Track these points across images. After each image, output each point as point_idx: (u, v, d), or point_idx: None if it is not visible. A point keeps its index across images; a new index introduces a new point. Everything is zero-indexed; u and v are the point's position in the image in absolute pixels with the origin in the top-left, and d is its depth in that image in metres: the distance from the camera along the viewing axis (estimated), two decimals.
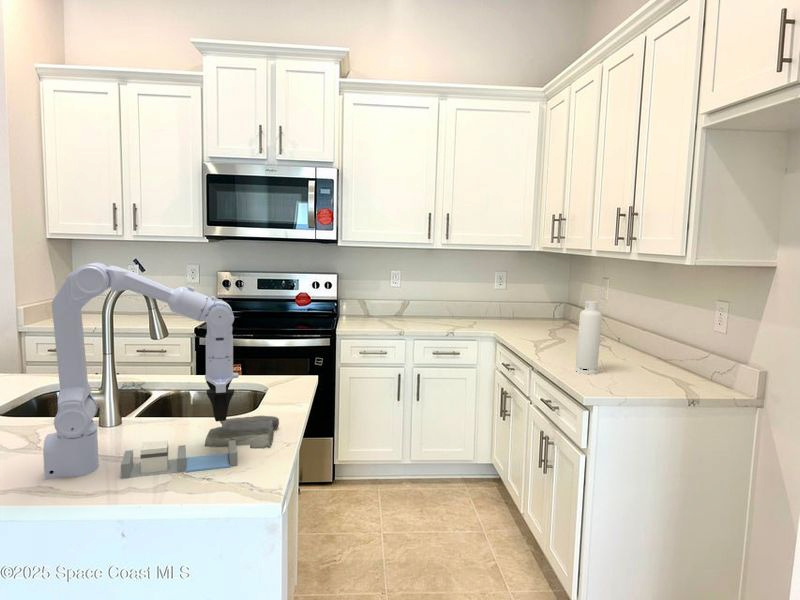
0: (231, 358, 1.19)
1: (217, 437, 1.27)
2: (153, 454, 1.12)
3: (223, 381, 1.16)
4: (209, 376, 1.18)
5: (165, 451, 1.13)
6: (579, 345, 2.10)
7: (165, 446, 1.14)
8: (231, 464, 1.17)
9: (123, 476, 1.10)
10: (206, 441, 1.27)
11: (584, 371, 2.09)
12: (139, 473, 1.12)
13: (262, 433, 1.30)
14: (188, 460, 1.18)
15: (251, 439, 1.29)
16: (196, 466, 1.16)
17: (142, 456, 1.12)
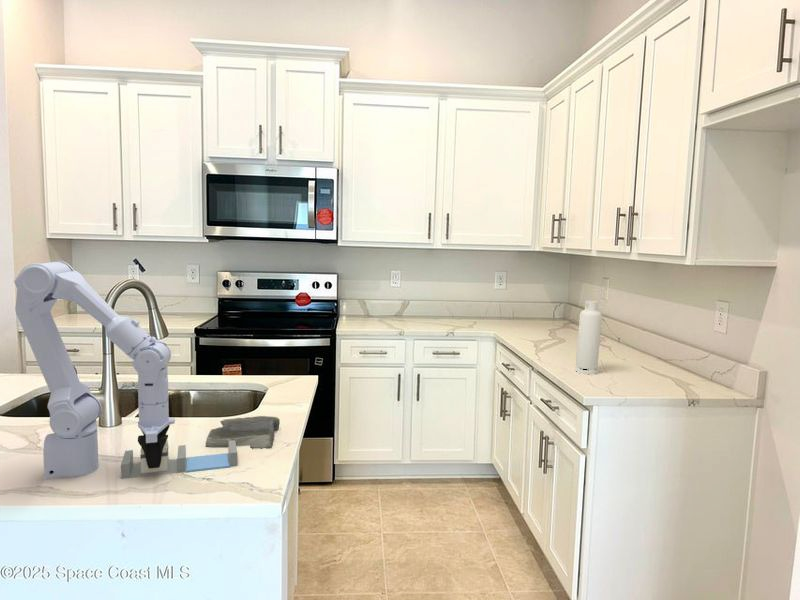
0: (166, 404, 1.13)
1: (218, 437, 1.27)
2: None
3: (155, 429, 1.09)
4: (141, 423, 1.11)
5: (165, 451, 1.13)
6: (579, 345, 2.10)
7: (165, 446, 1.14)
8: (231, 464, 1.17)
9: (123, 476, 1.10)
10: (207, 441, 1.26)
11: (584, 371, 2.09)
12: (139, 473, 1.12)
13: (263, 434, 1.30)
14: (188, 460, 1.18)
15: (252, 439, 1.29)
16: (196, 466, 1.16)
17: (142, 456, 1.12)
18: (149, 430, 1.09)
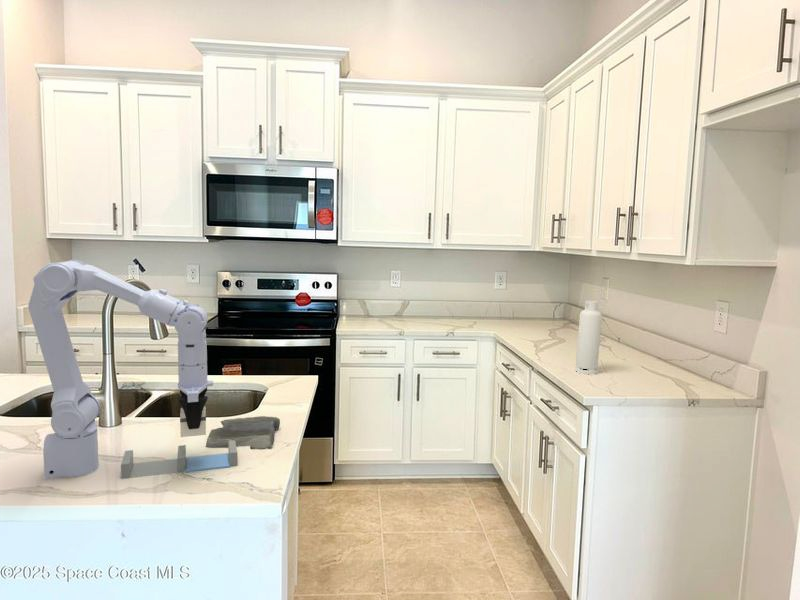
0: (205, 365, 1.14)
1: (218, 437, 1.27)
2: None
3: (196, 390, 1.11)
4: (181, 385, 1.13)
5: (204, 416, 1.15)
6: (579, 345, 2.10)
7: (204, 411, 1.15)
8: (231, 464, 1.17)
9: (123, 476, 1.10)
10: (207, 442, 1.26)
11: (584, 371, 2.09)
12: (139, 473, 1.12)
13: (264, 434, 1.30)
14: (188, 460, 1.18)
15: (252, 440, 1.28)
16: (196, 466, 1.16)
17: (182, 420, 1.14)
18: (190, 390, 1.11)
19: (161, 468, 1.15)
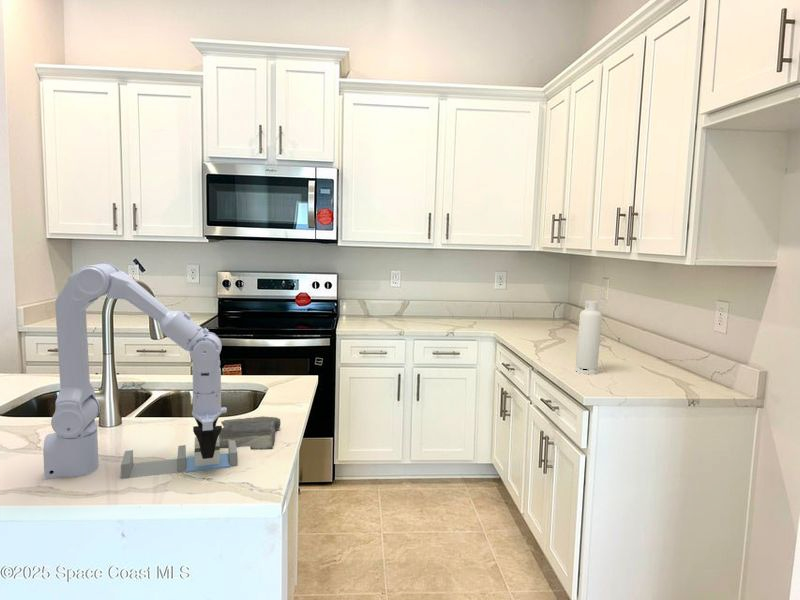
0: (219, 393, 1.16)
1: (219, 438, 1.27)
2: None
3: (210, 418, 1.13)
4: (196, 412, 1.15)
5: (218, 445, 1.17)
6: (579, 345, 2.10)
7: (217, 440, 1.17)
8: (231, 464, 1.17)
9: (123, 476, 1.10)
10: None
11: (584, 371, 2.09)
12: (139, 473, 1.12)
13: (264, 434, 1.29)
14: (188, 460, 1.18)
15: (253, 440, 1.28)
16: (196, 466, 1.16)
17: (196, 450, 1.15)
18: (204, 418, 1.12)
19: (161, 468, 1.15)
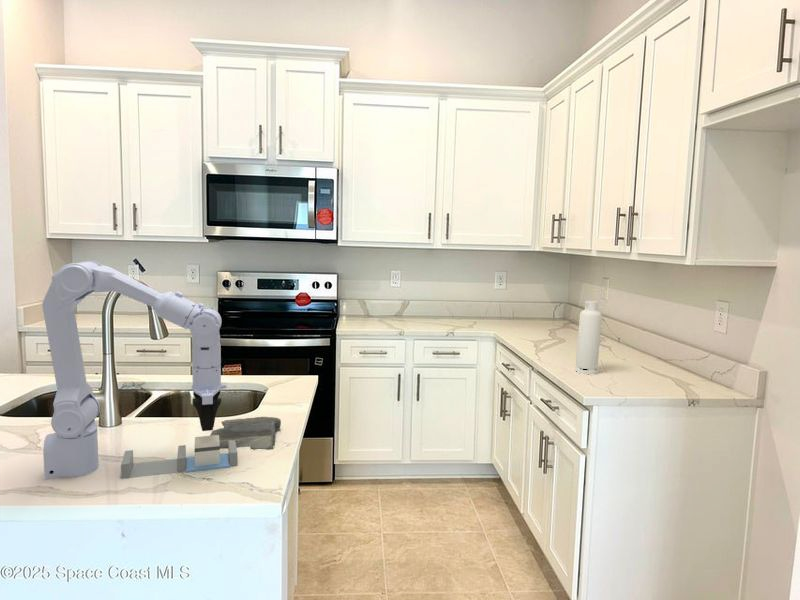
0: (219, 368, 1.15)
1: (220, 438, 1.27)
2: (206, 448, 1.16)
3: (210, 392, 1.12)
4: (195, 387, 1.14)
5: (218, 445, 1.17)
6: (579, 345, 2.10)
7: (217, 440, 1.17)
8: (231, 464, 1.17)
9: (123, 476, 1.10)
10: None
11: (584, 371, 2.09)
12: (139, 473, 1.12)
13: (265, 435, 1.29)
14: (188, 460, 1.18)
15: (254, 440, 1.28)
16: (196, 466, 1.16)
17: (196, 450, 1.15)
18: (204, 393, 1.12)
19: (161, 468, 1.15)
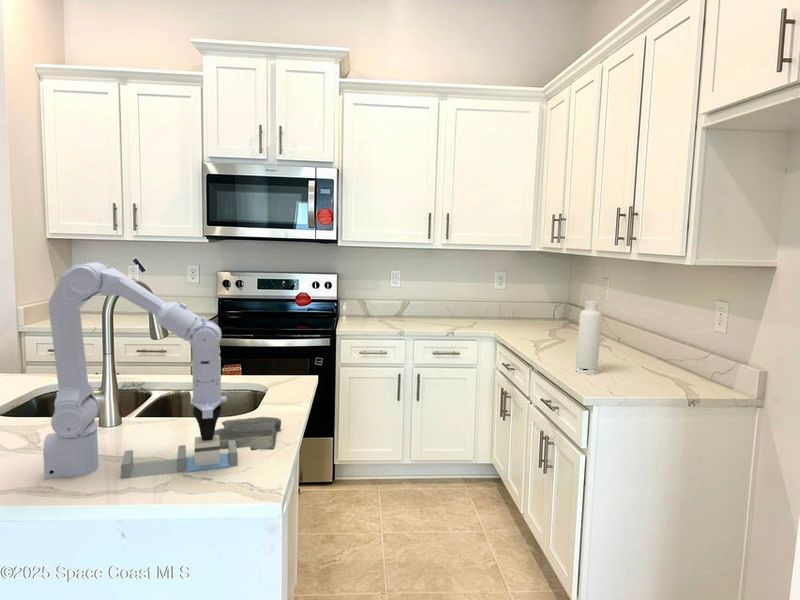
0: (219, 381, 1.16)
1: (220, 438, 1.26)
2: (206, 448, 1.16)
3: (210, 406, 1.12)
4: (195, 400, 1.14)
5: (218, 445, 1.17)
6: (579, 345, 2.10)
7: (217, 440, 1.17)
8: (231, 464, 1.17)
9: (123, 476, 1.10)
10: None
11: (584, 371, 2.09)
12: (139, 473, 1.12)
13: (265, 435, 1.29)
14: (188, 460, 1.18)
15: (254, 441, 1.28)
16: (196, 466, 1.16)
17: (196, 450, 1.15)
18: (204, 406, 1.12)
19: (161, 468, 1.15)
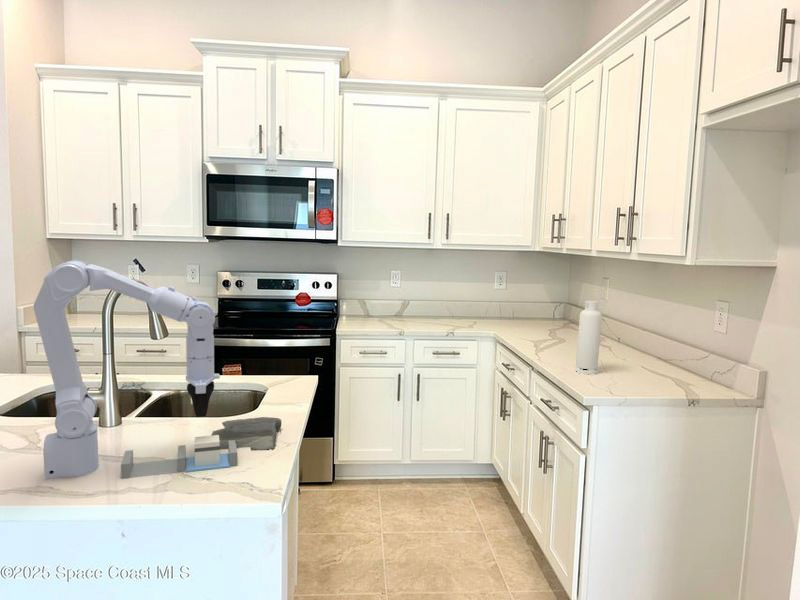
0: (212, 359, 1.19)
1: (221, 439, 1.26)
2: (206, 448, 1.16)
3: (203, 382, 1.16)
4: (189, 377, 1.17)
5: (218, 445, 1.17)
6: (579, 345, 2.10)
7: (217, 440, 1.17)
8: (231, 464, 1.17)
9: (123, 476, 1.10)
10: None
11: (584, 371, 2.09)
12: (139, 473, 1.12)
13: (266, 435, 1.29)
14: (188, 460, 1.18)
15: (255, 441, 1.28)
16: (196, 466, 1.16)
17: (196, 450, 1.15)
18: (198, 382, 1.15)
19: (161, 468, 1.15)
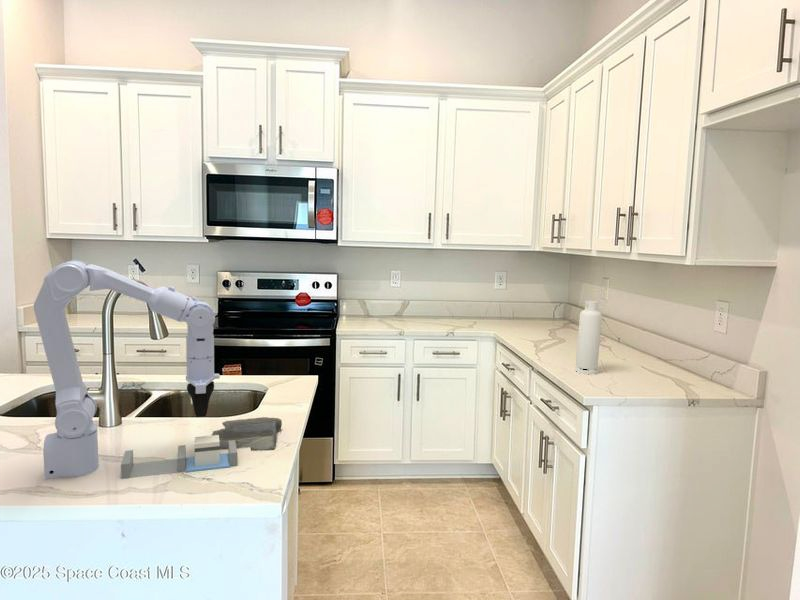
0: (212, 359, 1.19)
1: (221, 439, 1.26)
2: (206, 448, 1.16)
3: (203, 382, 1.16)
4: (189, 377, 1.17)
5: (218, 445, 1.17)
6: (579, 345, 2.10)
7: (217, 440, 1.17)
8: (231, 464, 1.17)
9: (123, 476, 1.10)
10: None
11: (584, 371, 2.09)
12: (139, 473, 1.12)
13: (266, 435, 1.29)
14: (188, 460, 1.18)
15: (255, 441, 1.28)
16: (196, 466, 1.16)
17: (196, 450, 1.15)
18: (198, 382, 1.15)
19: (161, 468, 1.15)
